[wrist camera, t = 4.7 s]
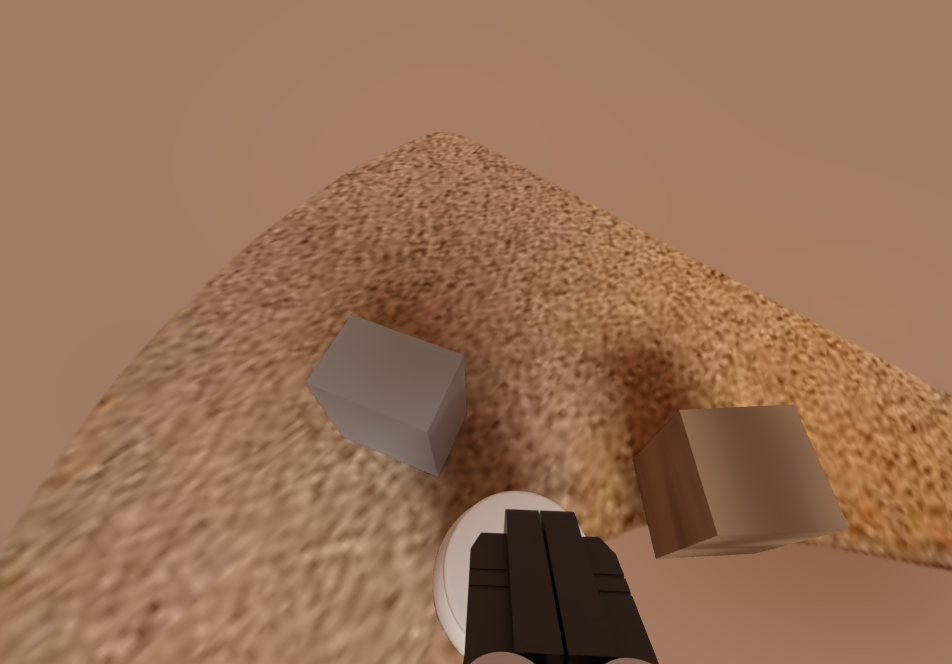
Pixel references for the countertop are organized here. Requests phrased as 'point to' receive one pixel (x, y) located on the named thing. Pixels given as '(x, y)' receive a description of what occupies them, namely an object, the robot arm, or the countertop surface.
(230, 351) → the countertop surface
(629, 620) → the robot arm
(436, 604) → the pill bottle
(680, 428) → the walnut block
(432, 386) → the slate block
